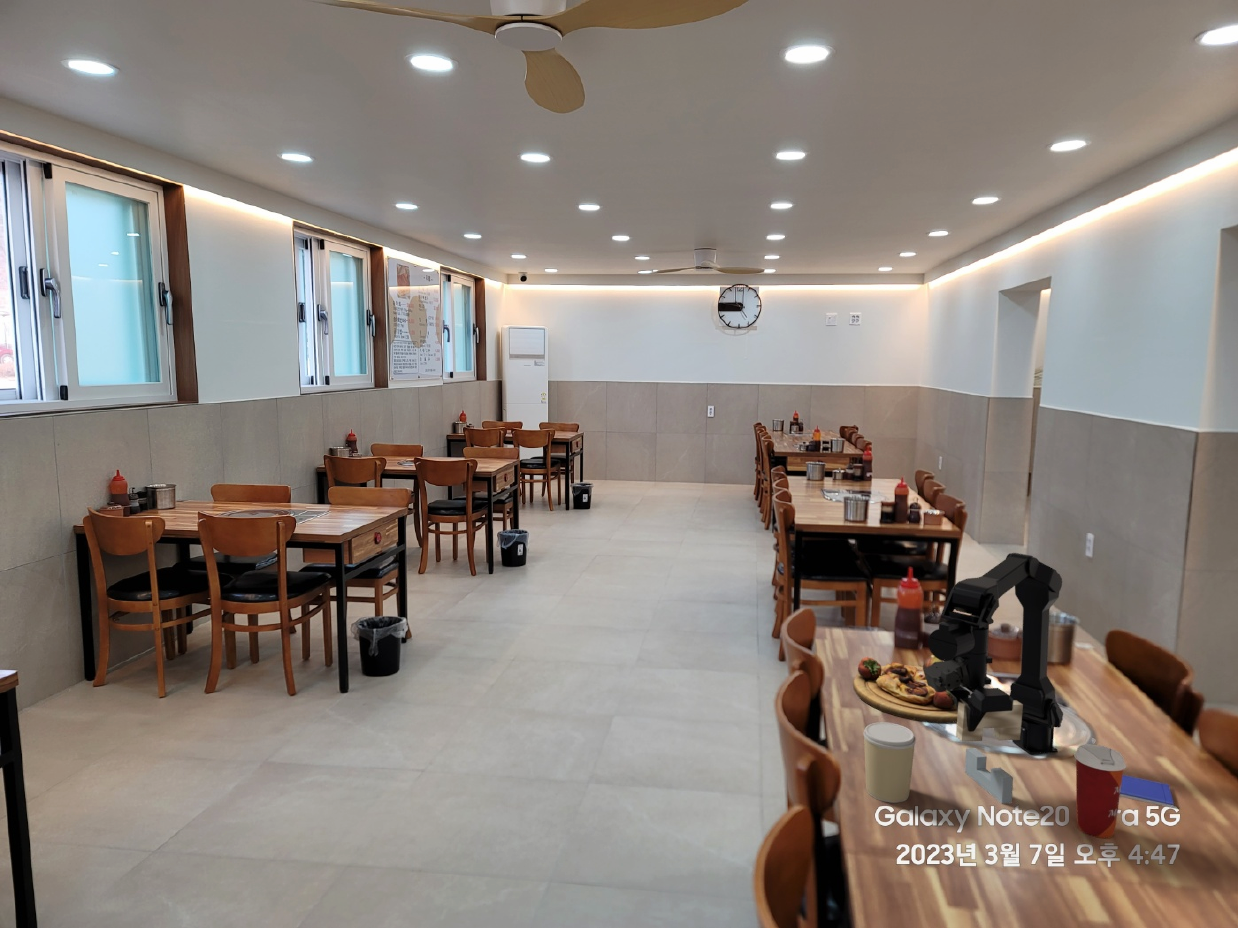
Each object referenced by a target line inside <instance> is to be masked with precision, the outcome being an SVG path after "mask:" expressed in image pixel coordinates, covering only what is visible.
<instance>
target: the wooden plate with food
mask: <svg viewBox="0 0 1238 928" xmlns="http://www.w3.org/2000/svg"><path fill="white" fill-rule="evenodd" d="M934 662H942V660H939V659H938V658H936V657H935V656H934V655H933V654H931V655H929V656H928V658H926V659H925V660H924V662H923V665H922V666H917V665H904V664H902V663H899V662H891V664H889V663H888V664H886V665H881V664H880V663H879V662H878V661H877V660H876V659H874V658H873V657H869V656H867V657H864V658H862V659H861V661H860V662H858V663H859V664H858V666H857V674H856V675H855V677H854V678H853V681H852V687H853V690H854V692H855V694H856V696H857V697H859V698H860V700H862V701H863V702H864V703H866V704H867V705H869V706H870V707H872V708H874V709H876V710H879V711H881V712H883V713H887V714H889V715H893V716H895V717H900V718H904V719H906V720H907V719H908V720H913V721H918V722H925V723H926V721H927V723H938V724H939V723H943V724H944V723H945V724H948V723H949V724H952V723H953V724H954V723H957V716H958V713H957V709H956V706H955V702H954V699H953V697H952V695H951V694H950V693H949V692H948V691H947V690H946V691H944V692H936V691H935V689H933V688H932V687H931V686H928V684H927V680H926V677H925V674H924V671H923V670H924V669H925V668H927V667H929V666H931V665H932V664H933V663H934Z"/></svg>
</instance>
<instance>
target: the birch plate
mask: <svg viewBox="0 0 1238 928" xmlns="http://www.w3.org/2000/svg"><path fill="white" fill-rule="evenodd" d="M1022 710H1023V704H1021V703H1020V702H1018V701H1016V700H1014V701H1013V710H1012V711H1000V712H987V713H986V714H985V715H984V717H983V718H982V720H981V721H980V723H979V725H978V726H977V728H976V729H975V731H973V732H969V731H968V727H967V715H966V705H965V704H964V703H963V702H959V703H958V716H957V722H956V731H955V737H956V738H957V740H960V742H982V741H983V735H984V729H993V737H994V738H996V739H997V740H998V741H1012V740H1020V733H1021V721H1022Z"/></svg>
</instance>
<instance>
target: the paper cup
mask: <svg viewBox="0 0 1238 928" xmlns="http://www.w3.org/2000/svg"><path fill="white" fill-rule="evenodd" d="M1073 755H1074V758H1075V760H1076V761H1075V762H1076V765H1075V767H1076V769H1075V770H1076V771H1075V773H1076V774H1075V775H1076V776H1075V778H1076V780H1075V782H1076V785H1075V786H1076V790H1075V791H1076V793H1075V794H1076V825H1077V828H1078V829H1079V830H1080V831H1081V832H1082V833H1084V834H1085V835H1088V836H1091V837H1094V838H1098V839H1111V838H1113V836H1114V834H1115V831H1116V824H1117V818H1118V811H1119V804H1120V798H1121V797H1120V791H1121V783H1122V776H1123V775H1124V770H1125V769H1126V767H1127V763H1126V762H1125V760H1124V756H1123V755H1122V754H1121V752H1119V751H1117V750H1116V749H1113V748H1111V747H1108V746H1105V745H1100V744H1090V743H1088V744H1082V745H1079V746H1078V747H1077V749H1076V751H1075V752H1074V754H1073Z"/></svg>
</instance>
